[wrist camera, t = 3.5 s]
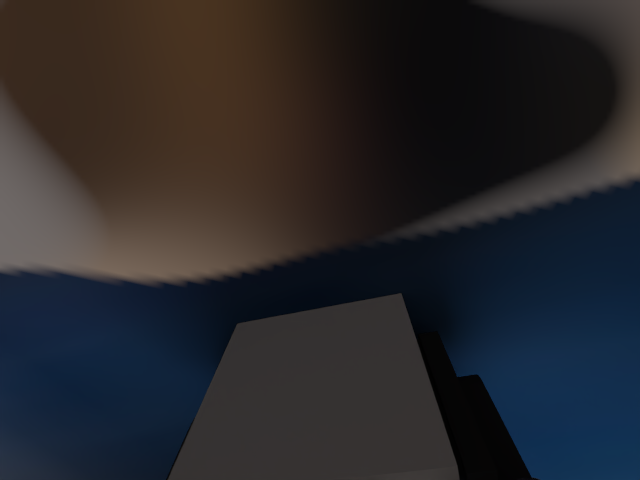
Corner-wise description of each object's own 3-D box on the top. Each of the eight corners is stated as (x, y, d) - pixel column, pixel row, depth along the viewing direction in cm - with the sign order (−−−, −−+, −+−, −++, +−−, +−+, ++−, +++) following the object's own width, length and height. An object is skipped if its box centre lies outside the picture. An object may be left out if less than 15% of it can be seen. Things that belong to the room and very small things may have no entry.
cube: (400, 291, 10) (457, 465, 5) (423, 415, 12) (480, 625, 7) (238, 321, 10) (159, 499, 6) (283, 434, 12) (251, 636, 8)
